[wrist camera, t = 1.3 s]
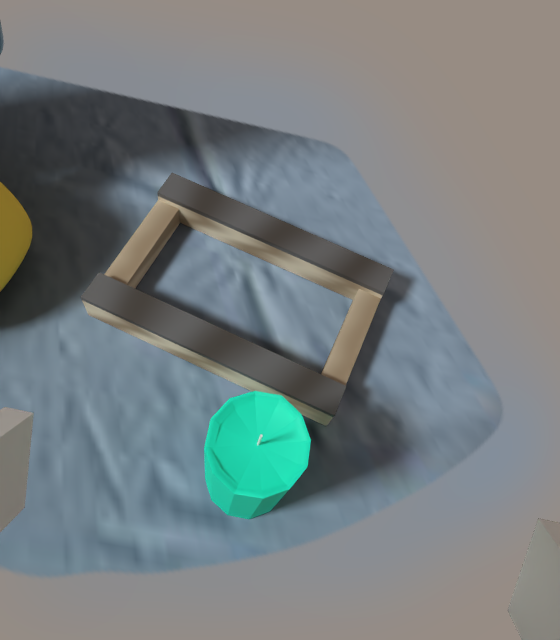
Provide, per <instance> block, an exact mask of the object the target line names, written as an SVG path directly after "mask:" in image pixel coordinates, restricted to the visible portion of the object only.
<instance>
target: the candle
mask: <svg viewBox="0 0 560 640" xmlns="http://www.w3.org/2000/svg"><path fill="white" fill-rule="evenodd" d="M310 444H311V439H310V436H309V433H308V430H307V428H306V425H305V422H304V419H303V416H302V414H301V413H300V412H299V411H298V410H297V409H296V408H295V407H294V406H293V405H291V404H290V403H289V402H288V401H287V400H286V399H285V398H284V397H283V396H282V395H277V394H271V393H265V392H259V391H253V392H249V393H246V394H243V395H239V396H236V397H233V398H229V400H228V401H227V402H226V403H225V404H224V405H223V406H222V407H221V408H220V409H219V410H218V411H217V413H216V414H215V415H214V416H213V417H212V418H211V420H210V424H209V429H208V433H207V438H206V442H205V447H204V453H205V480H206V483H207V487H208V490H209V493H210V497H211V500H212V501H213V502H214V503H215V504H216V505H217V506H218V507H220V508H221V509H222V510H223V511H224V512H225V513H226V514H227V515H230V516H235V517H240V518H245V519H251V518H254V517H257V516H259V515H262V514H265V513H267V512H270V511H271V510H272V509H273V507H274V506H275V505H276V504H277V503H278V502H279V501H280V500H281V498H282V497H283V496H284V495H285V494H286V493H287V492H288V491H289V489H290V488H291V487H292V486H293V484H294V483H295V482H296V481H297V479H298V478H299V477H300V476H301V474H302V473H303V472H304V471H305V469H306V468H307V466H308V459H309V451H310Z"/></svg>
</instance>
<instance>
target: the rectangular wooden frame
mask: <svg viewBox="0 0 560 640" xmlns="http://www.w3.org/2000/svg"><path fill="white" fill-rule="evenodd" d="M180 223H182V224H184V225H186V226H188V227H191V228H193V229H195V230H197V231H200V232H202V233H204V234H206V235H209V236H211V237H213V238H215V239H218V240H220V241H222V242H224V243H227V244H229V245H231V246H233V247H236V248H238V249H240V250H242V251H245V252H247V253H249V254H251V255H254V256H256V257H258V258H260V259H262V260H265V261H267V262H269V263H271V264H274V265H276V266H278V267H280V268H283V269H285V270H287V271H289V272H292V273H294V274H296V275H298V276H301V277H303V278H305V279H307V280H310V281H312V282H314V283H316V284H319V285H321V286H323V287H325V288H328V289H330V290H332V291H334V292H337V293H339V294H341V295H343V296H346V297H348V298H350V299H352V300H353V302H352V304H351V306H350V308H349V311H348V313H347V315H346V318H345V320H344V322H343V324H342V327H341V329H340V331H339V334H338V336H337V338H336V341H335V343H334V345H333V347H332V350H331V352H330V354H329V357H328V359H327V361H326V364H325V366H324V368H323V370H322V373H321V374H319V373H317V372H315V371H313V370H311V369H308V368H306V367H304V366H302V365H300V364H298V363H295V362H293V361H291V360H289V359H287V358H285V357H282V356H280V355H278V354H276V353H274V352H272V351H269V350H267V349H265V348H263V347H261V346H259V345H256V344H254V343H252V342H250V341H248V340H245V339H243V338H241V337H239V336H237V335H235V334H232V333H230V332H228V331H226V330H224V329H222V328H219V327H217V326H215V325H213V324H211V323H209V322H206V321H204V320H202V319H200V318H198V317H196V316H193V315H191V314H189V313H187V312H185V311H183V310H180V309H178V308H176V307H174V306H172V305H169V304H167V303H165V302H163V301H161V300H159V299H156V298H154V297H152V296H150V295H148V294H146V293H143V292H141V291H139V290H137V289H135V288H136V287H137V285H138V284H139V282H140V281H141V279H142V278H143V276H144V275H145V274H146V272H147V271H148V269H149V268H150V266H151V265H152V263H153V262H154V260H155V259H156V257H157V256H158V254H159V253H160V251H161V250H162V249H163V247H164V246H165V244H166V243H167V241H168V240H169V238H170V237H171V235H172V234H173V232H174V231H175V229H176V228H177V227H178V225H179V224H180ZM392 273H393V269H391V268H389V267H386V266H384V265H382V264H380V263H377V262H375V261H373V260H370V259H368V258H366V257H364V256H361V255H359V254H357V253H354V252H352V251H350V250H348V249H345V248H343V247H341V246H339V245H336V244H334V243H332V242H329V241H327V240H325V239H323V238H320V237H318V236H316V235H313V234H311V233H309V232H307V231H304V230H302V229H300V228H297V227H295V226H293V225H291V224H288V223H286V222H284V221H281V220H279V219H277V218H275V217H272V216H270V215H268V214H265V213H263V212H261V211H259V210H256V209H254V208H252V207H249V206H247V205H245V204H243V203H240V202H238V201H236V200H233V199H231V198H229V197H227V196H224V195H222V194H220V193H217V192H215V191H213V190H211V189H208V188H206V187H204V186H201V185H199V184H197V183H195V182H192V181H190V180H188V179H185V178H183V177H181V176H179V175H176V174H174V173H171V175H170V176H169V177H168V179H167V180H166V181H165V183H164V184H163V186H162V187H161V188H160V190H159V191H158V201H157V203H156V204H155V205H154V207H153V208H152V209H151V211H150V212H149V214H148V215H147V216H146V218H145V219H144V220H143V222H142V223H141V225H140V226H139V227H138V229H137V230H136V231H135V233H134V234H133V236H132V237H131V238H130V240H129V241H128V242H127V244H126V245H125V247H124V248H123V249H122V251H121V252H120V254H119V255H118V256H117V258H116V259H115V260H114V262H113V263H112V265H111V266H110V267H109V269H108V270H107V271H106V273H105V274H102V273H100V272H99V273H98V274H97V275H96V277H95V278H94V280H93V281H92V282H91V284H90V285H89V286H88V288H87V289H86V290H85V292H84V293H83V295H82V296H81V299H82V301H83V303H84V306H85V308H86V310H87V312H88V315H90V316H92V317H94V318H96V319H99V320H101V321H103V322H105V323H107V324H109V325H111V326H114V327H116V328H118V329H120V330H122V331H124V332H126V333H128V334H131V335H133V336H135V337H137V338H139V339H141V340H143V341H146V342H148V343H150V344H152V345H154V346H156V347H158V348H160V349H163V350H165V351H167V352H169V353H171V354H173V355H175V356H178V357H180V358H182V359H184V360H186V361H188V362H190V363H192V364H195V365H197V366H199V367H201V368H203V369H205V370H207V371H210V372H212V373H214V374H216V375H218V376H220V377H222V378H224V379H227V380H229V381H231V382H233V383H235V384H237V385H239V386H242V387H244V388H246V389H248V390H250V391H252V392H253V391H259V392H265V393H271V394H277V395H282V396H283V397H284V398H285V399H286V400H287V401H288V402H289V403H290V404H291V405H293V406H294V407H295V408H296V409H297V410H298V411H299V412H300V413H301V414H302V415H303V416H306V417H308V418H310V419H312V420H314V421H316V422H318V423H321V424H323V425H325V426H327V425H328V424H329V422H330V421H331V420H332V418H333V417H334V416H335V413H336V411H337V409H338V406H339V404H340V401H341V399H342V396H343V394H344V391H345V389H346V383H347V381H348V378H349V376H350V373H351V371H352V368H353V366H354V363H355V361H356V358H357V356H358V354H359V351H360V349H361V346H362V344H363V341H364V339H365V336H366V334H367V331H368V329H369V326H370V324H371V322H372V319H373V317H374V314H375V312H376V309H377V307H378V304H379V302H380V299H381V297H382V296H383V294H384V292H385V290H386V288H387V285H388V283H389V280H390V278H391V275H392Z"/></svg>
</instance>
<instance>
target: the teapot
mask: <svg viewBox="0 0 560 640" xmlns="http://www.w3.org/2000/svg"><path fill="white" fill-rule="evenodd" d="M31 240H32V225H31V221H30V219H29V217H28V215H27V213H26V211H25V210H24V208H23V207H22V205H21V204H20V202H19V201H18V200H17V199H16V198H15V196H14V195H13V194H12V193H11V192H10V191H9V190H8V189H7V188H6V187H5V186H4V185H3V184H2V183H1V182H0V291H1V290H2V289H3V288H4V287H5V285H6V284H7V283H8V282H9V280H10V279H11V278H12V276H13V275H14V273H15V272H16V270H17V269H18V267H19V266H20V264H21V262H22V261H23V259H24V257H25V255H26V253H27V251H28V249H29V247H30V244H31Z"/></svg>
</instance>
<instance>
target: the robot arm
mask: <svg viewBox="0 0 560 640" xmlns="http://www.w3.org/2000/svg"><path fill="white" fill-rule="evenodd" d="M2 50H3V33H2V27H1V22H0V54H1V52H2ZM33 414H34V413H31V412H26V411H21V410H16V409H11V408H7V407H4V408H3V409H1V410H0V532H1V531H2V530H3V529H4V528H5V527H6V526H7V525H8V524H9V523H10V522H11V521H12V520H13V519H14V518H15V517H16V516H17V515H18V514H19V513H20V512H21V511H22V510H23V508H24V507H25V497H26V486H27V476H28V466H29V455H30V445H31V435H32V424H33ZM508 612H509V614H510V616H511V618H512V620H513V623H514V625H515V627H516V629H517V631H518V633H519V635H520V637H521V639H522V640H560V523H558V522H553V521H549V520H544V519H538V521H537V524H536V527H535V530H534V533H533V536H532V539H531V542H530V545H529V548H528V551H527V554H526V557H525V560H524V563H523V566H522V569H521V572H520V575H519V578H518V581H517V584H516V587H515V590H514V593H513V596H512V599H511V602H510V605H509V608H508Z"/></svg>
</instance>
